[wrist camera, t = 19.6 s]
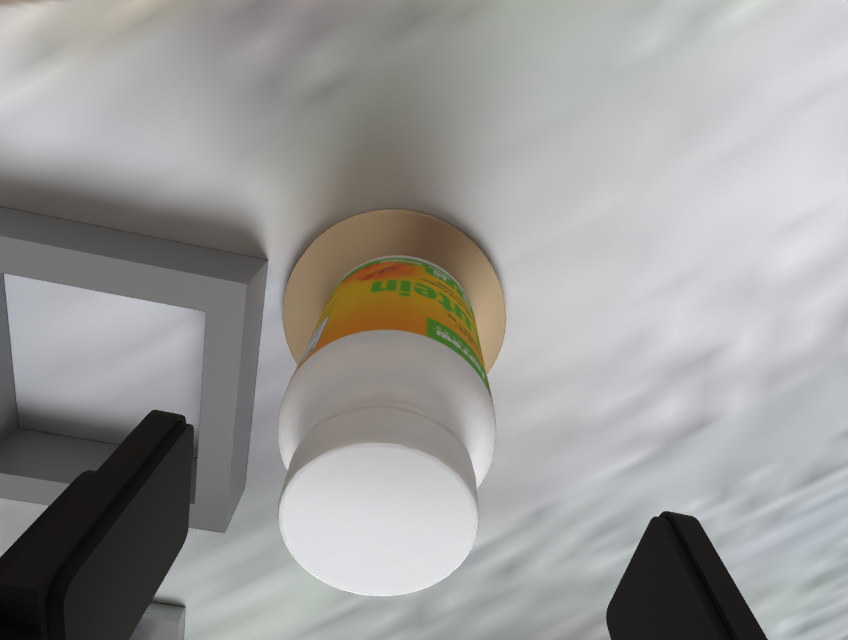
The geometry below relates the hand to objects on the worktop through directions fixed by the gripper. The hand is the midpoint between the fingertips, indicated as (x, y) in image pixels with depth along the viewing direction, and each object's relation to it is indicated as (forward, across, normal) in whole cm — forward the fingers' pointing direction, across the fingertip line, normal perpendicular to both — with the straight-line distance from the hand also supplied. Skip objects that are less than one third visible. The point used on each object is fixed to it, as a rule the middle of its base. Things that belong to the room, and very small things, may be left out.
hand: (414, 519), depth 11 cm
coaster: (+10, +1, 0) cm, 10 cm away
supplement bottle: (+10, +1, 0) cm, 10 cm away
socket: (+10, +11, +4) cm, 15 cm away
